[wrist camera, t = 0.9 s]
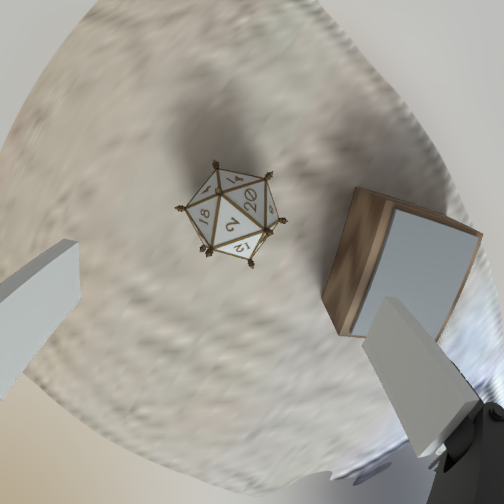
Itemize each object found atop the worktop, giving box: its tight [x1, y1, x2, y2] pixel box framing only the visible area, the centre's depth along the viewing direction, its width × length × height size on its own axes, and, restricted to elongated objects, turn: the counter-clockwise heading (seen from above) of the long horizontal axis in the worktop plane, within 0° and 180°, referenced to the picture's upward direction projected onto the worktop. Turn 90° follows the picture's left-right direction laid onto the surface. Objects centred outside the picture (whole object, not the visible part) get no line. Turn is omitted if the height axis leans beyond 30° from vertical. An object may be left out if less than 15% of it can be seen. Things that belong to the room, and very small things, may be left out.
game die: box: [174, 160, 288, 269], centre depth 25 cm, size 9×8×10 cm
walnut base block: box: [322, 187, 483, 342], centre depth 28 cm, size 13×13×7 cm
